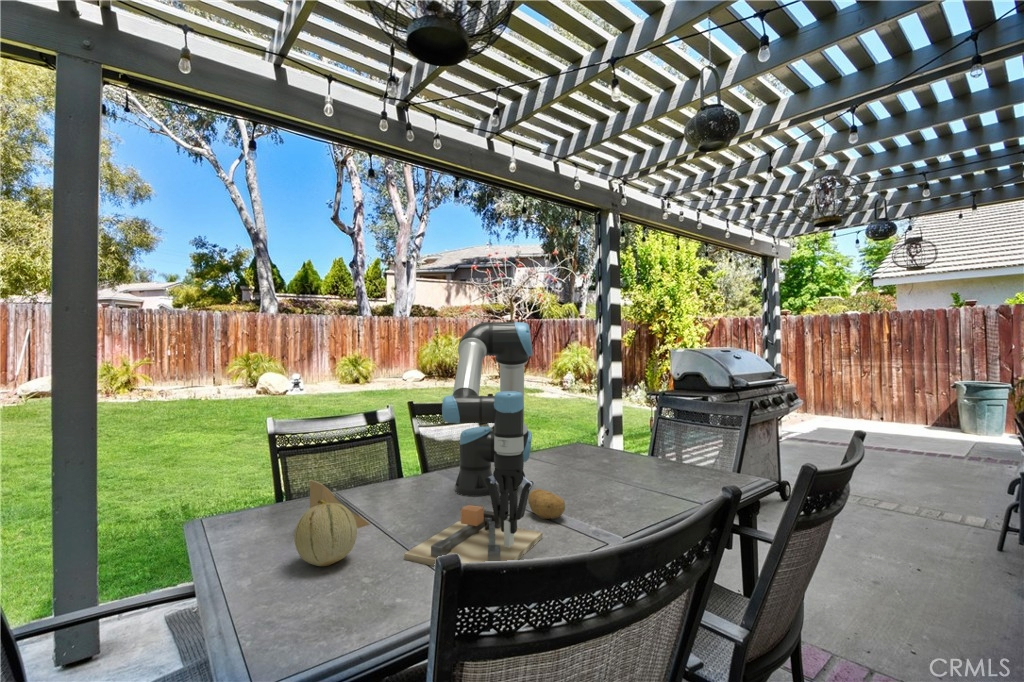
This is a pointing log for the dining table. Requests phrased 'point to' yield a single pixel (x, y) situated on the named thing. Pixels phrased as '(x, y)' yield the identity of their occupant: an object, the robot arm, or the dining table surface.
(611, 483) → the dining table surface
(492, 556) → the upper tong arm
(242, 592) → the dining table surface
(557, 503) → the potato
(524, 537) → the tongs board
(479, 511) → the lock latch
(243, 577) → the dining table surface
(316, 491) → the sandwich container
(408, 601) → the dining table surface
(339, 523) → the cantaloupe
